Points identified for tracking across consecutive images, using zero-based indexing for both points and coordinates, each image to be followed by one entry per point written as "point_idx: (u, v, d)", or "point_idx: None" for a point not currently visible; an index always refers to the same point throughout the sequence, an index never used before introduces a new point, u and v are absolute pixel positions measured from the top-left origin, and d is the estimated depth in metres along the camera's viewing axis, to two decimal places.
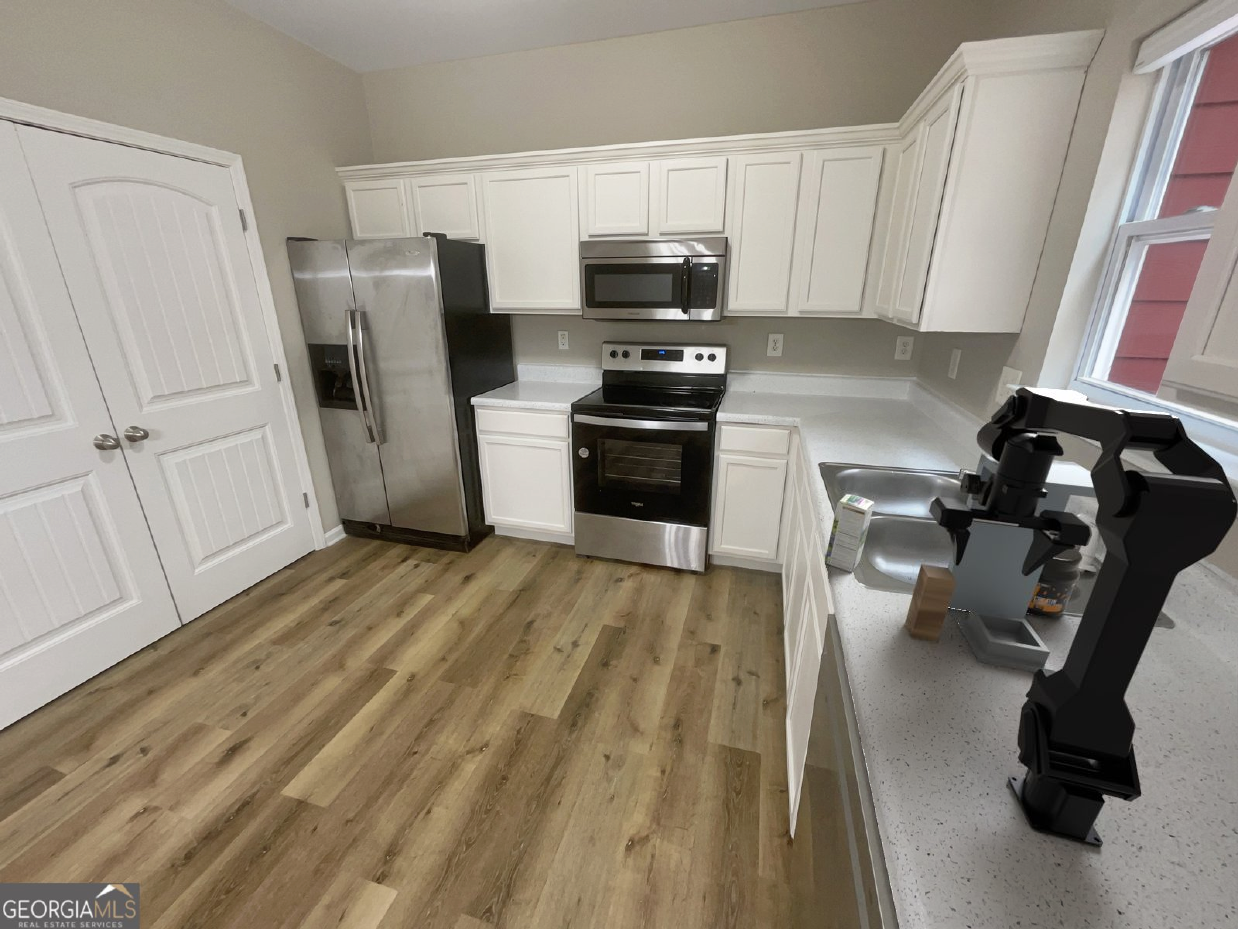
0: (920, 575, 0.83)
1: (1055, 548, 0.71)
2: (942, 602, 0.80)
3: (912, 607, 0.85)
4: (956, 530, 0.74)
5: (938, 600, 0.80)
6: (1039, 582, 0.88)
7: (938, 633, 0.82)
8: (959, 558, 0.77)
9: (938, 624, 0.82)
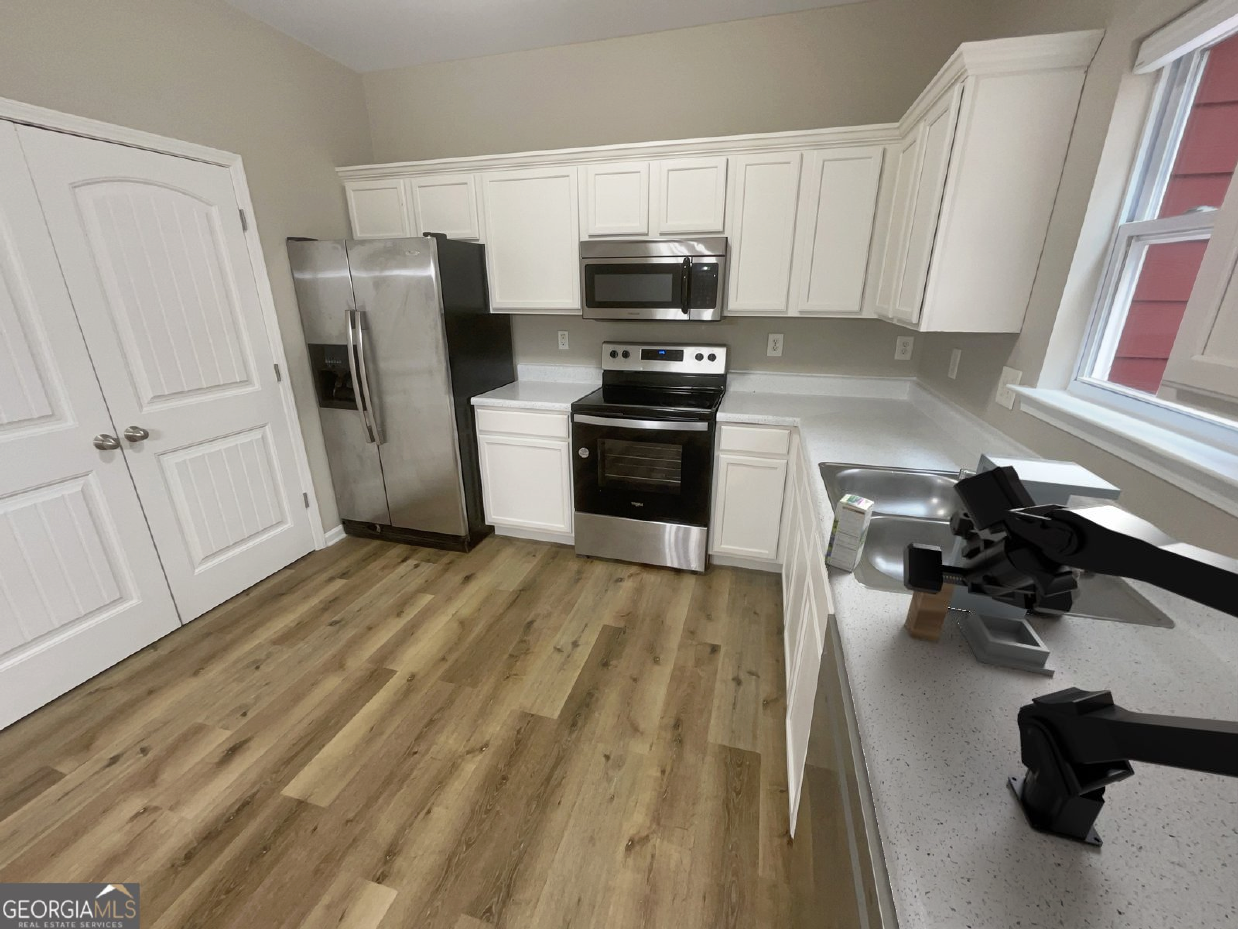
0: None
1: (1026, 609, 0.66)
2: (942, 601, 0.80)
3: (912, 607, 0.85)
4: None
5: (938, 600, 0.80)
6: None
7: (938, 633, 0.82)
8: None
9: (938, 624, 0.82)
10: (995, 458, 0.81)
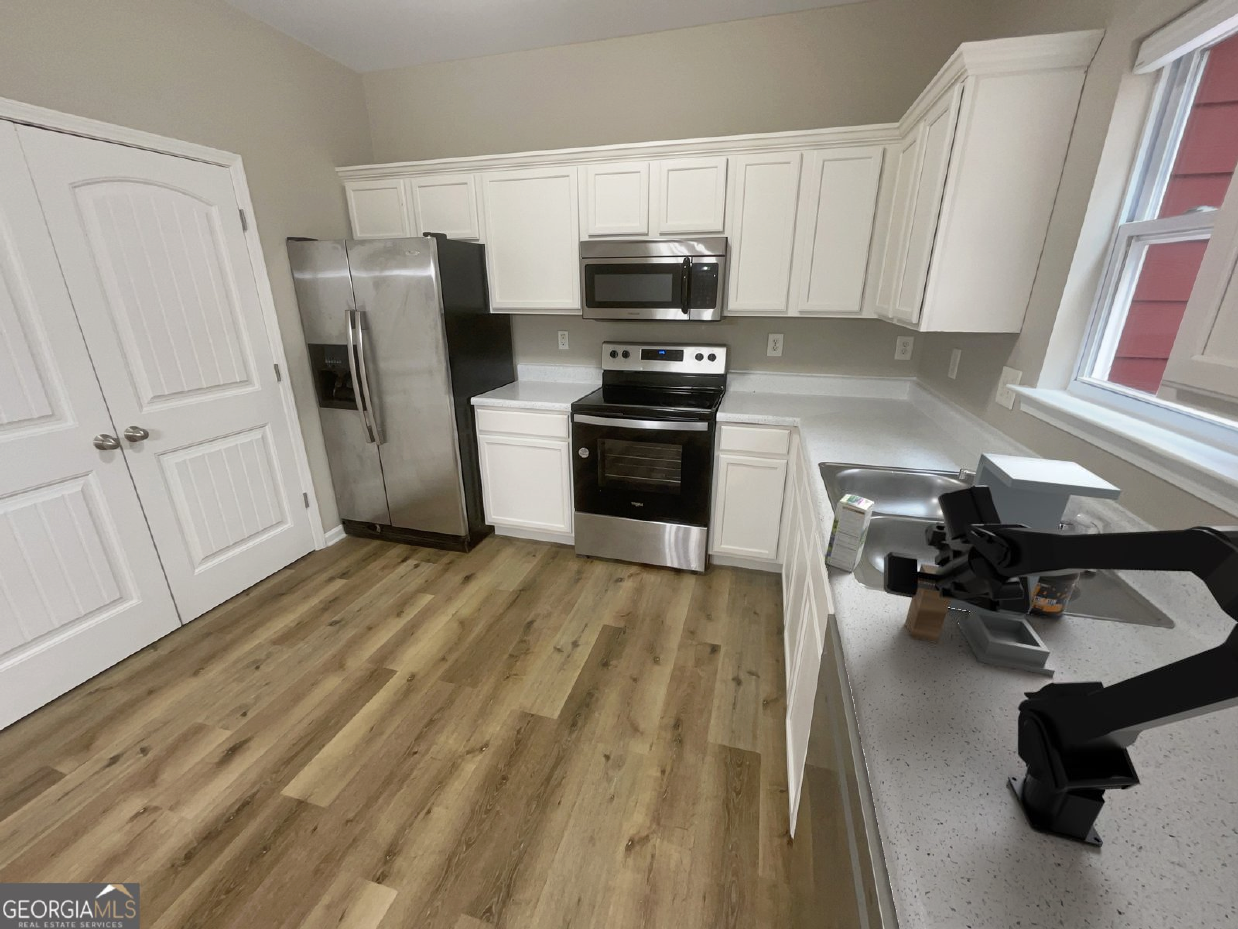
0: None
1: (991, 610, 0.74)
2: (942, 602, 0.80)
3: (912, 607, 0.85)
4: None
5: (938, 600, 0.80)
6: (1039, 582, 0.88)
7: (938, 633, 0.82)
8: None
9: (938, 624, 0.82)
10: (995, 458, 0.81)
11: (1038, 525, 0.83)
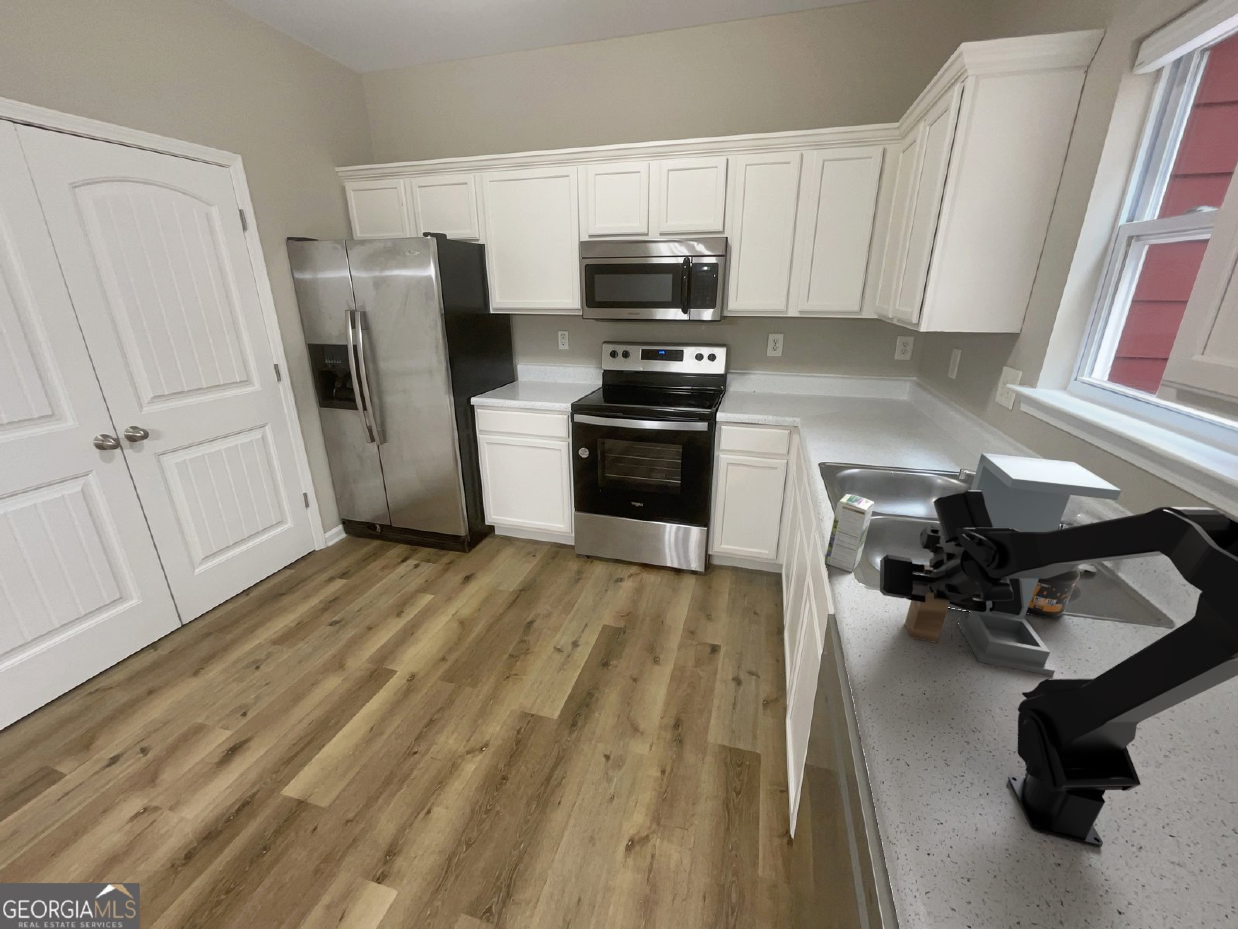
0: None
1: None
2: (942, 601, 0.80)
3: (912, 607, 0.85)
4: (912, 598, 0.78)
5: (938, 600, 0.80)
6: (1039, 582, 0.88)
7: (938, 633, 0.82)
8: None
9: (938, 624, 0.82)
10: (995, 458, 0.81)
11: (1038, 525, 0.83)
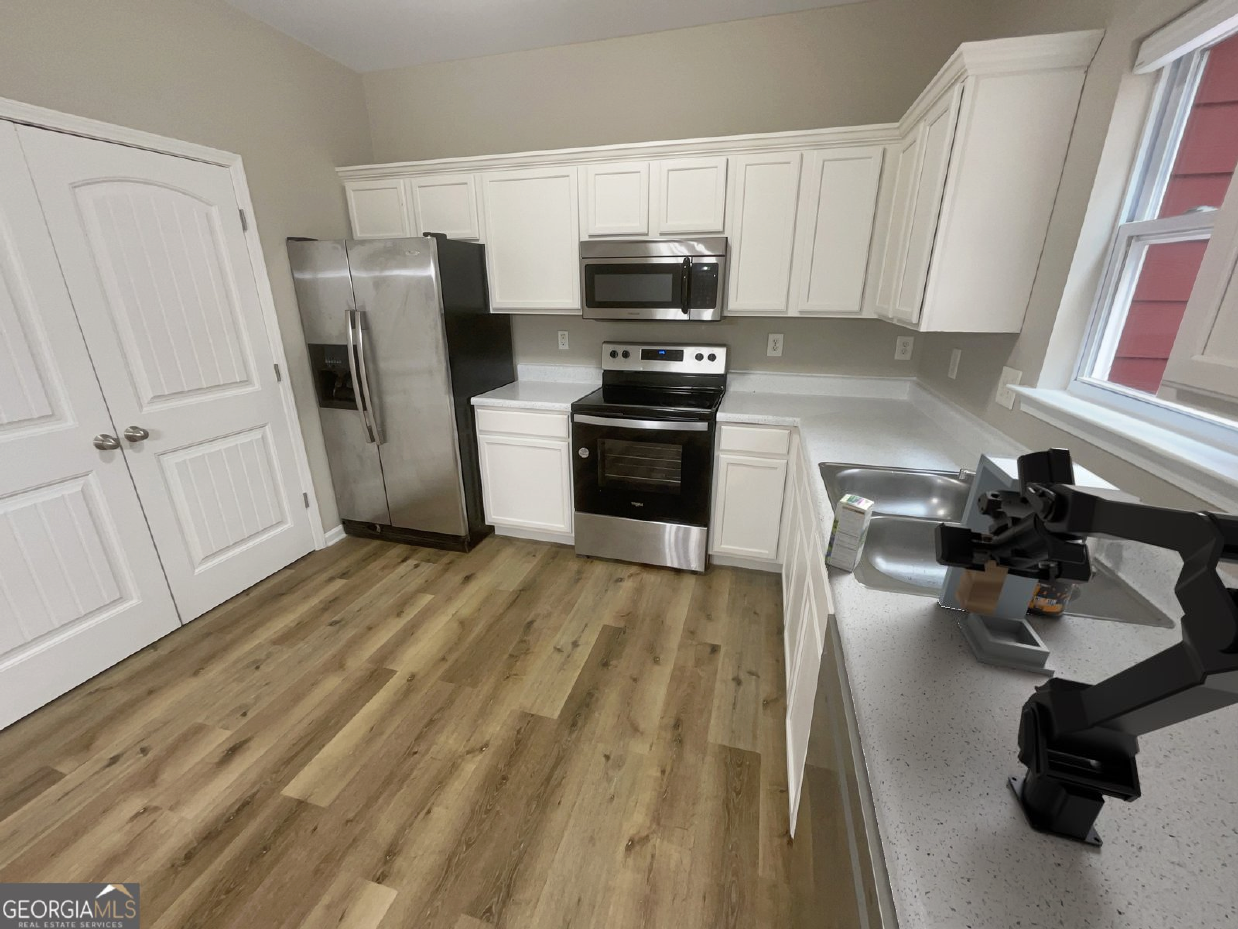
0: None
1: None
2: (999, 571, 0.76)
3: (964, 579, 0.81)
4: (971, 567, 0.74)
5: (995, 570, 0.77)
6: (1039, 582, 0.88)
7: (994, 605, 0.78)
8: None
9: (994, 595, 0.78)
10: (995, 458, 0.81)
11: None
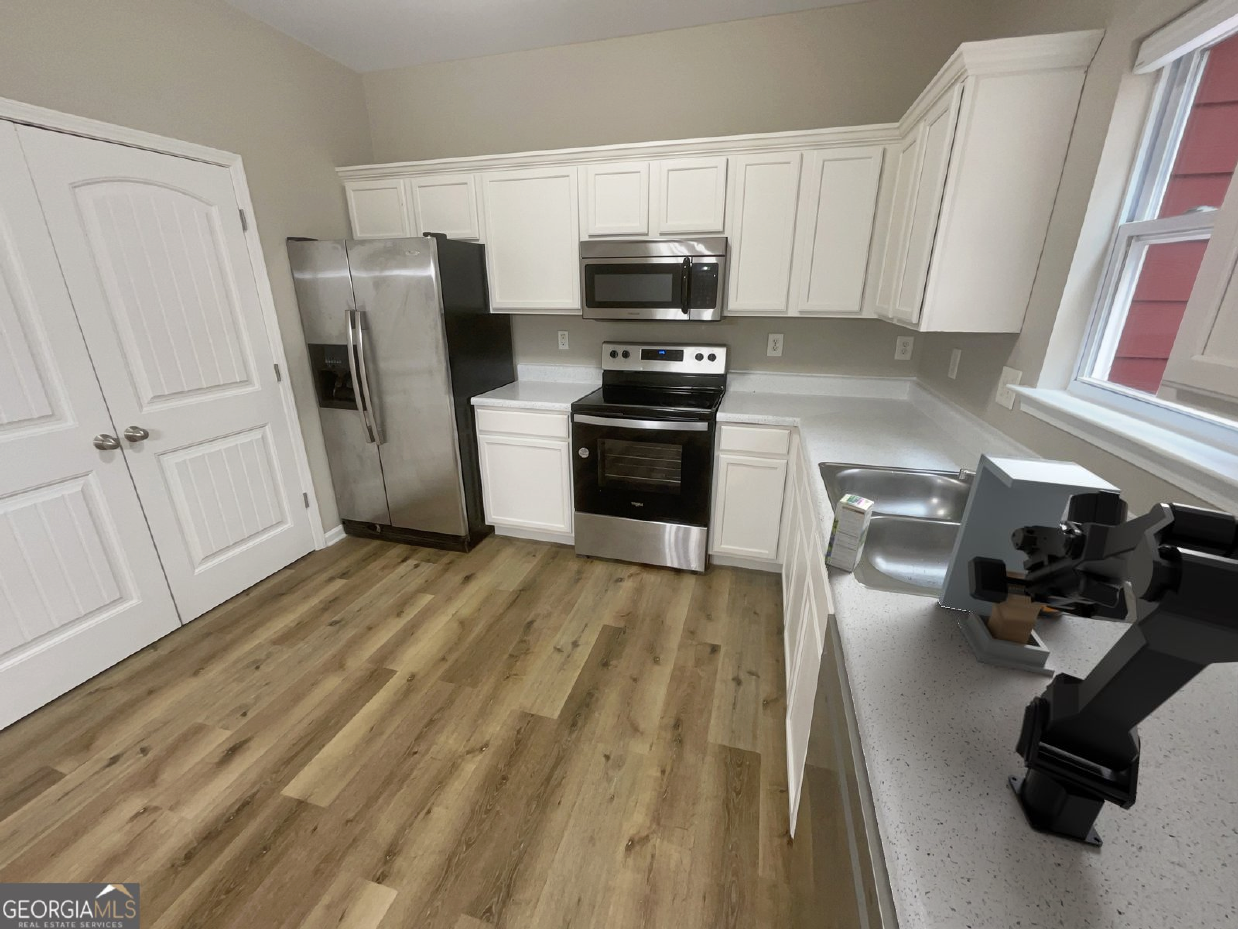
0: None
1: (1083, 617, 0.72)
2: (1031, 611, 0.77)
3: (994, 616, 0.82)
4: None
5: (1026, 609, 0.77)
6: None
7: (1024, 643, 0.79)
8: None
9: (1024, 634, 0.78)
10: (995, 458, 0.81)
11: (1038, 525, 0.83)
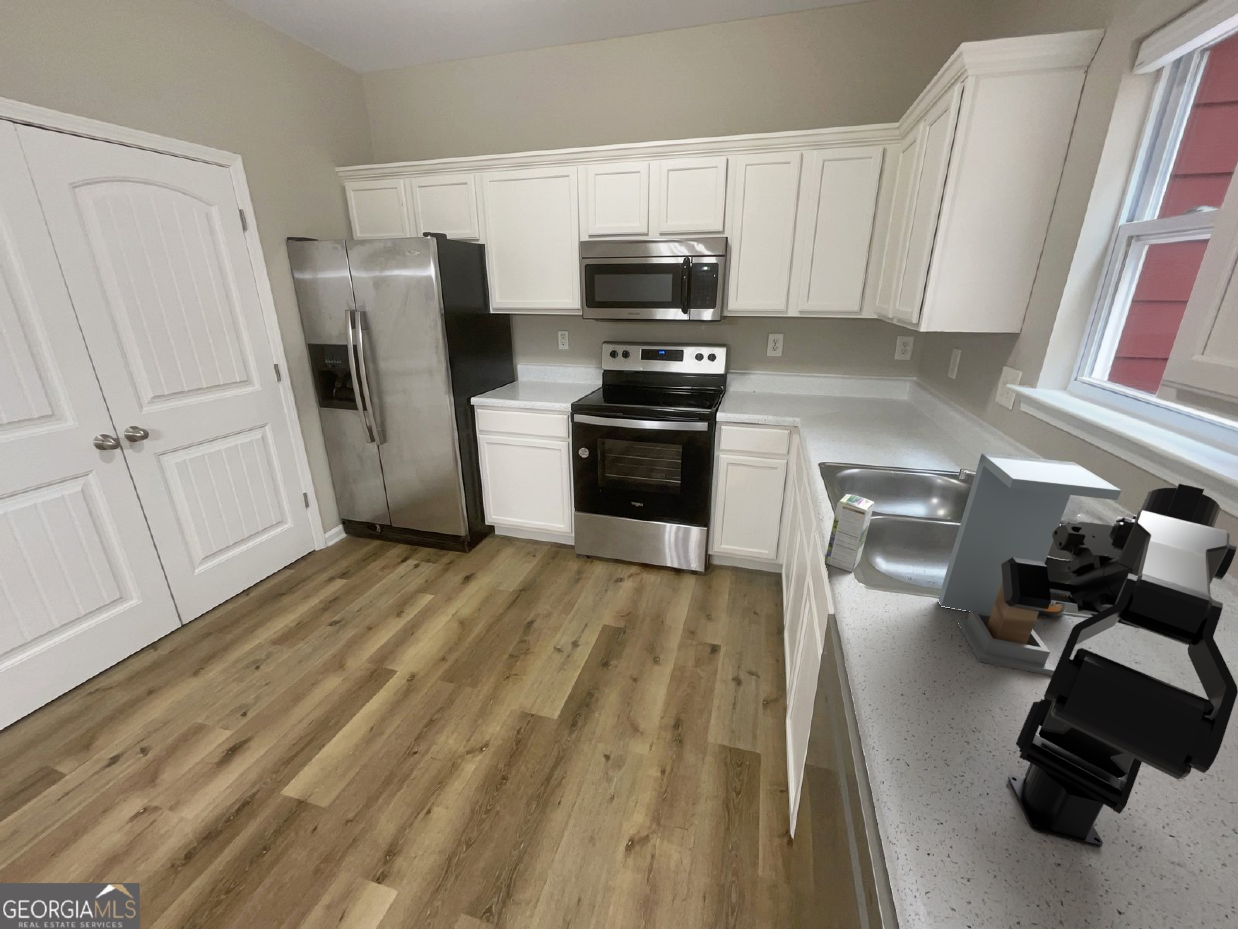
0: None
1: (1137, 627, 0.63)
2: (1031, 611, 0.77)
3: (994, 616, 0.82)
4: None
5: None
6: None
7: (1024, 643, 0.79)
8: None
9: (1024, 634, 0.78)
10: (995, 458, 0.81)
11: (1038, 525, 0.83)
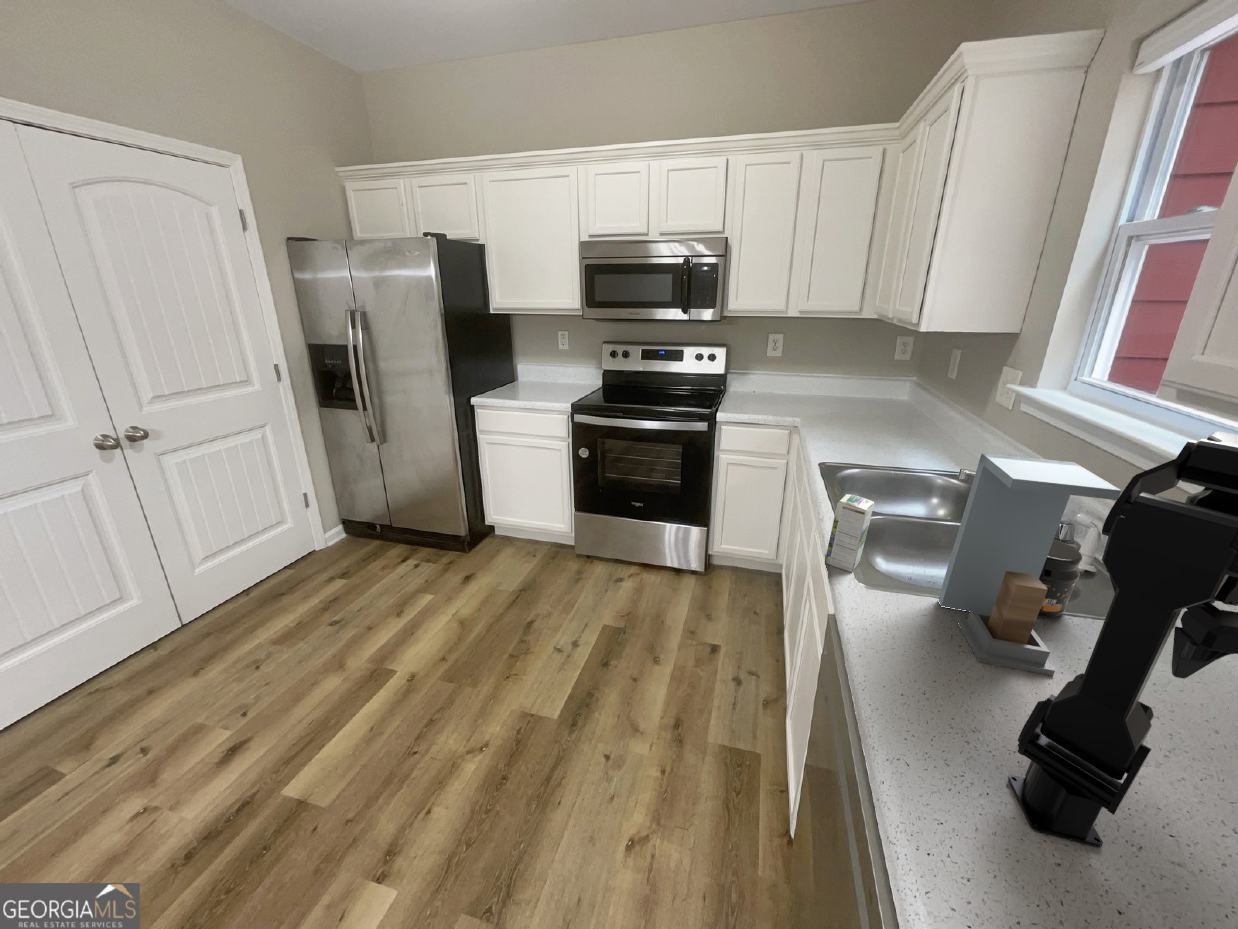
0: (1004, 583, 0.80)
1: (1177, 634, 0.56)
2: (1031, 611, 0.77)
3: (994, 616, 0.82)
4: None
5: (1026, 609, 0.77)
6: None
7: (1024, 643, 0.79)
8: None
9: (1024, 634, 0.78)
10: (995, 458, 0.81)
11: (1038, 525, 0.83)
